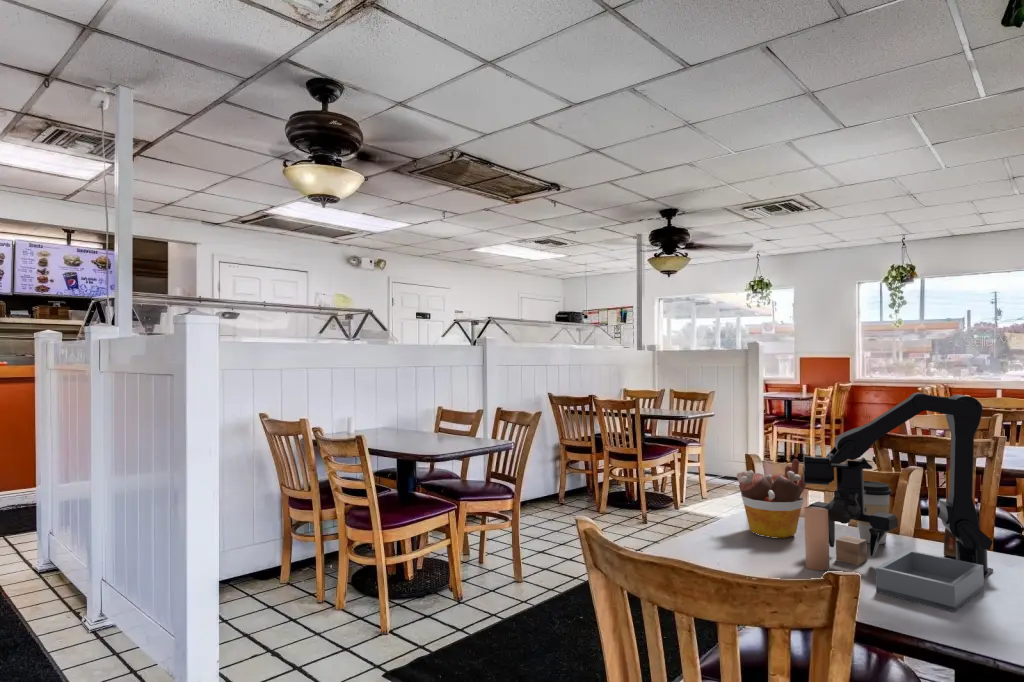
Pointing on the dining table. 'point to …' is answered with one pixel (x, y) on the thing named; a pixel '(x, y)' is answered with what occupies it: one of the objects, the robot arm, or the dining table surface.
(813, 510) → the cylinder
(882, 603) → the dining table surface
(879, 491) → the coffee cup
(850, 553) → the cube
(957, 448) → the robot arm
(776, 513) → the bucket of meat
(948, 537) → the tin
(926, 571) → the tote
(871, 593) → the dining table surface
